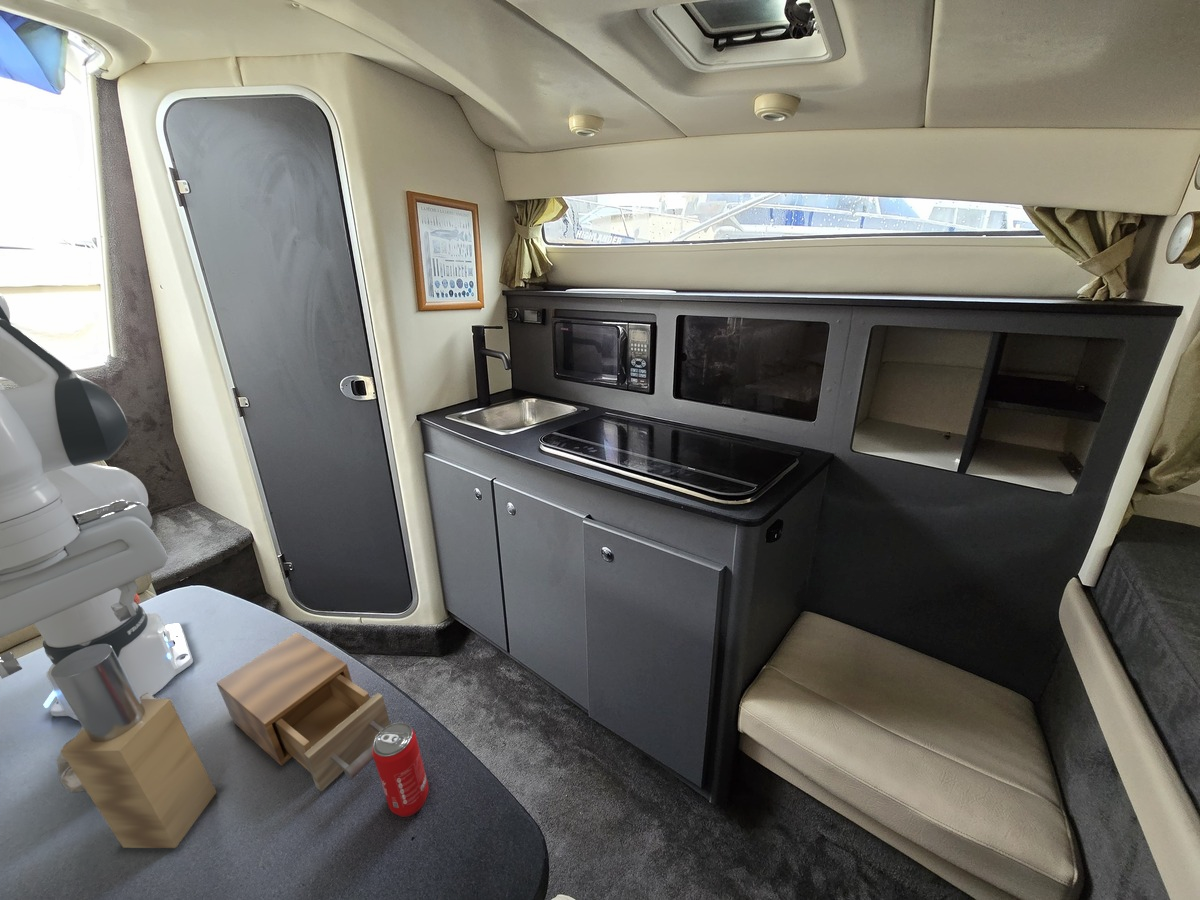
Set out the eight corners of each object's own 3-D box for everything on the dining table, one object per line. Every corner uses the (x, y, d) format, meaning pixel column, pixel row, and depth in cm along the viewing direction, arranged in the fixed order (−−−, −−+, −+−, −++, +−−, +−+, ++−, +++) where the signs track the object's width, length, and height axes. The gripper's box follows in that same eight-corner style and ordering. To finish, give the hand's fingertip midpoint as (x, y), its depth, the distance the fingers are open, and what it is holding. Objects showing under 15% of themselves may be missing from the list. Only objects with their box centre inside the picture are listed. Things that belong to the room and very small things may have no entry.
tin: (94, 719, 60) (57, 656, 56) (147, 698, 63) (115, 637, 59) (84, 750, 56) (44, 685, 52) (141, 727, 59) (107, 663, 55)
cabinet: (358, 702, 82) (346, 663, 79) (281, 766, 73) (264, 724, 69) (309, 668, 90) (297, 631, 86) (233, 722, 80) (215, 682, 77)
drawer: (412, 742, 74) (404, 709, 72) (342, 811, 65) (330, 776, 63) (340, 691, 84) (330, 661, 81) (270, 746, 75) (256, 713, 72)
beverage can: (417, 823, 65) (399, 761, 60) (381, 816, 66) (362, 754, 61) (436, 784, 69) (422, 723, 65) (403, 778, 70) (386, 717, 66)
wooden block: (123, 847, 63) (60, 750, 56) (168, 792, 70) (117, 698, 63) (175, 848, 63) (119, 750, 56) (216, 792, 69) (170, 698, 63)
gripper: (131, 487, 59) (173, 582, 64) (-164, 581, 43) (-77, 697, 48) (152, 499, 56) (194, 597, 61) (-158, 604, 40) (-65, 725, 45)
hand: (73, 642), depth 55 cm, fingers open, 8 cm apart
